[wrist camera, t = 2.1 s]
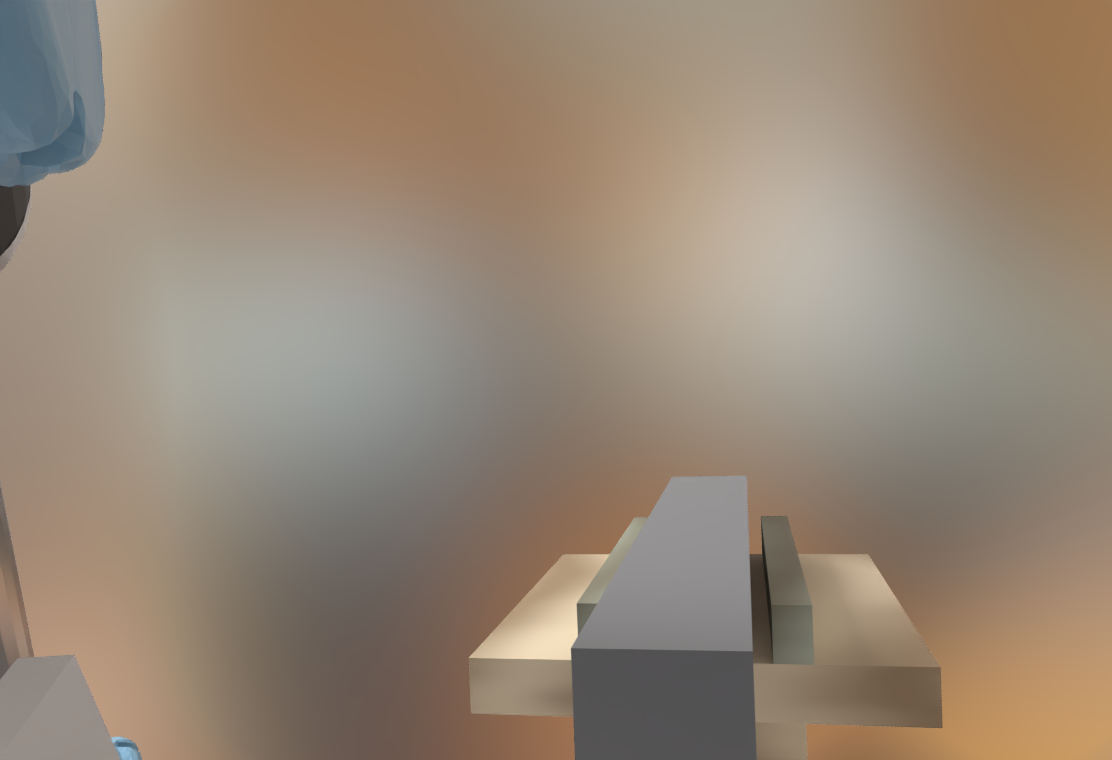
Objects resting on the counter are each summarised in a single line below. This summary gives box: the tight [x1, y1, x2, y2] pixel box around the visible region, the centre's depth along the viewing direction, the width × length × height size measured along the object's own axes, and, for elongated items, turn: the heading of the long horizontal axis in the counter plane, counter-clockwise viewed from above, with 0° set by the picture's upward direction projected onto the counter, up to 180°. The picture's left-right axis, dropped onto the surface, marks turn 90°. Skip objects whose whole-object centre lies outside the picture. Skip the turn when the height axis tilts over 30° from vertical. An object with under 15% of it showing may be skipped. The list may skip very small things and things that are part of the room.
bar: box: [571, 476, 757, 760], centre depth 28 cm, size 3×24×3 cm, turn 169°
